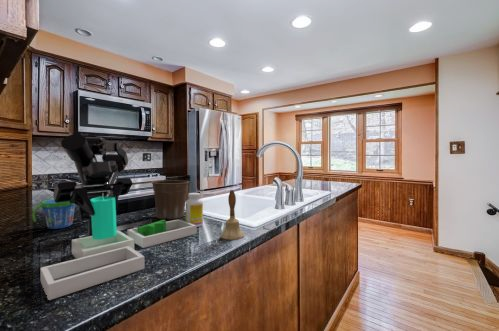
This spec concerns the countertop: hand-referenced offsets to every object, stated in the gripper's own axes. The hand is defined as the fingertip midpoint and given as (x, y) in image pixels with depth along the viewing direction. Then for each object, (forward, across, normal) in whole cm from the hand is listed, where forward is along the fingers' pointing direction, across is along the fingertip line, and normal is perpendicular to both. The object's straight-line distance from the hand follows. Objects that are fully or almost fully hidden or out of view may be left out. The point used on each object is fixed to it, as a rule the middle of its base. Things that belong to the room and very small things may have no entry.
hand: (105, 212), depth 66 cm
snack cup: (-21, 0, +39) cm, 44 cm away
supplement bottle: (+6, +34, +12) cm, 37 cm away
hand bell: (+20, +34, -3) cm, 40 cm away
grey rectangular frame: (+16, -6, +1) cm, 17 cm away
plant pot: (-8, +37, +26) cm, 46 cm away
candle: (+4, 0, +6) cm, 7 cm away
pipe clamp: (+6, +17, +11) cm, 21 cm away
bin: (+8, 0, +9) cm, 12 cm away
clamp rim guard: (+7, +19, +10) cm, 22 cm away
